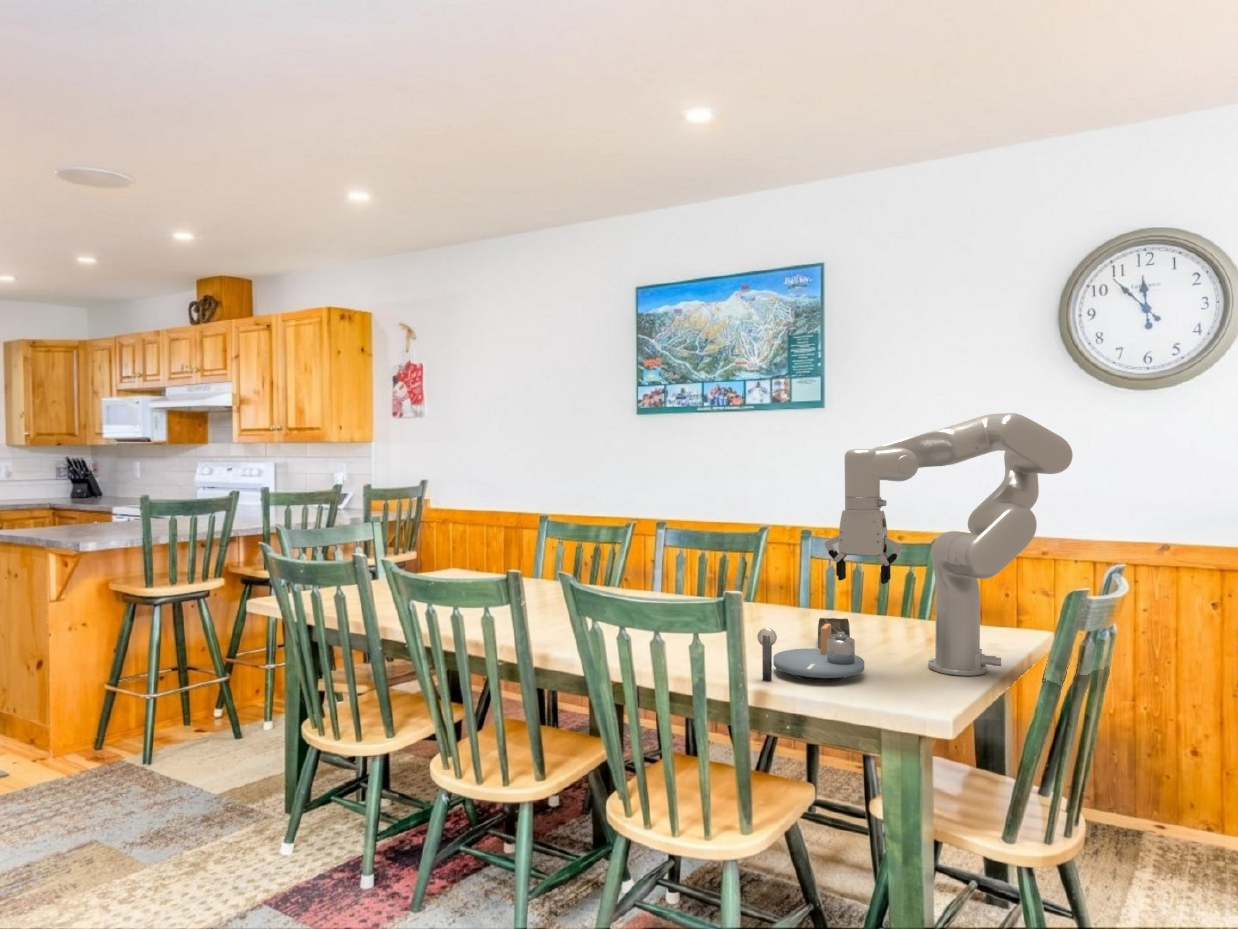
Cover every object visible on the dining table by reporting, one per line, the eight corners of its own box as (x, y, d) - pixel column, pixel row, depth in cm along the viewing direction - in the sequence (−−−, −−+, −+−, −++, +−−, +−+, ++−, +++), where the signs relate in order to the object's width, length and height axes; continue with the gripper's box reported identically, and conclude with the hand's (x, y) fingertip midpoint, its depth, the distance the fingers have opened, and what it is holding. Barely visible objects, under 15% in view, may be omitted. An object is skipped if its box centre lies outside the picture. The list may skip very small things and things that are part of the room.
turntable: (871, 659, 201) (871, 627, 200) (855, 682, 182) (855, 646, 182) (787, 651, 209) (786, 620, 209) (762, 671, 191) (762, 637, 191)
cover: (857, 659, 195) (857, 633, 194) (851, 666, 189) (851, 638, 189) (830, 657, 197) (830, 631, 197) (824, 663, 192) (824, 636, 192)
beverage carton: (817, 658, 210) (817, 631, 210) (818, 640, 229) (818, 615, 229) (851, 659, 209) (851, 632, 208) (849, 642, 227) (849, 617, 227)
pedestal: (850, 670, 198) (850, 663, 198) (839, 683, 187) (839, 676, 187) (798, 664, 204) (798, 658, 203) (785, 677, 193) (785, 670, 193)
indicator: (777, 680, 190) (777, 628, 190) (774, 682, 189) (774, 630, 188) (759, 678, 192) (759, 626, 192) (756, 680, 190) (756, 628, 190)
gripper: (906, 504, 190) (907, 581, 191) (830, 502, 200) (831, 576, 201) (896, 507, 184) (897, 587, 185) (818, 504, 194) (819, 580, 194)
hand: (863, 581), depth 193 cm, fingers open, 9 cm apart
